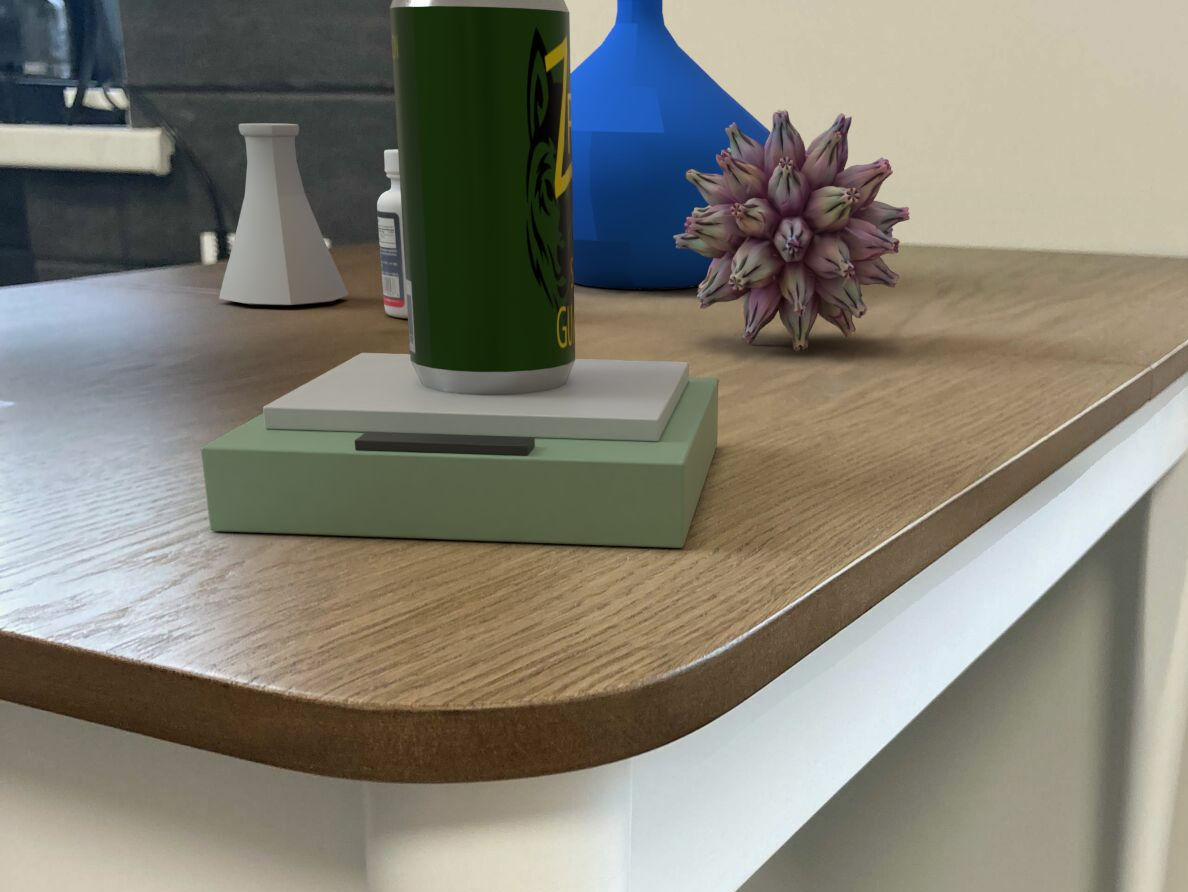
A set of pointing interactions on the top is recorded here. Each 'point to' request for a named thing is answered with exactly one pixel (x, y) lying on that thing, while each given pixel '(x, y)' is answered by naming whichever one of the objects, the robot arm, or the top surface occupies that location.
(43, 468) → the top surface
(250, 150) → the flask
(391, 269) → the pill bottle
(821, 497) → the top surface
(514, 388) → the beer can
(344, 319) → the top surface
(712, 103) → the vase
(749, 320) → the flower
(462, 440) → the scale
